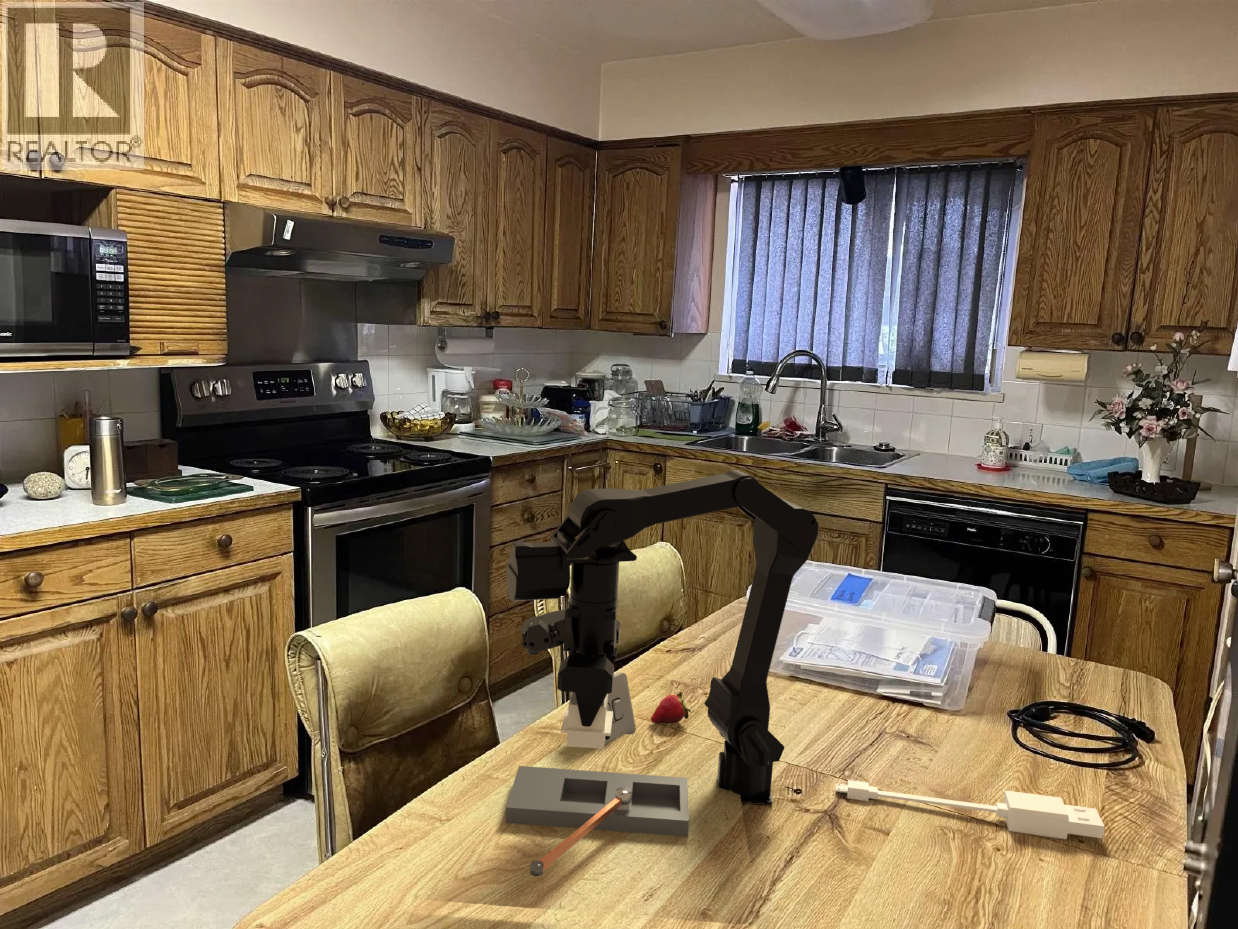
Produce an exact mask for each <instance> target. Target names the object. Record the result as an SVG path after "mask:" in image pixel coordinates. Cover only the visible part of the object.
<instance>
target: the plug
mask: <svg viewBox="0 0 1238 929" xmlns="http://www.w3.org/2000/svg"><path fill="white" fill-rule="evenodd" d="M568 701H569V702H568V707H566V708H565V710H564V714H563V719H562V723H561V726H560V733H563V734H566V747H569V748H570V747H571V748H572V747H573V748H583V749H586V748H587V749H597V750H598V749H599V750H600V749H601V750H604V749H605V745H604V743H605V736H610V735H611V727H612V719H613V711H607V703H608V694H607V695H606V697H605V699H604V701H603V703H602V705H601V707H600V709H599V711H598V713H597V715H596V717H595V719H594V721H593V723H592V725H591V726H590V727H586V726H582V724H581V719H580V714H579V709H578V705H577V700H576V696H575V692H570V697H569V700H568Z"/></svg>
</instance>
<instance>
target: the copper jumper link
mask: <svg viewBox="0 0 1238 929" xmlns="http://www.w3.org/2000/svg"><path fill="white" fill-rule="evenodd" d="M631 801H632V790H631V789H630V788H627V787H619V788H617V789H616V793H615V799H614V800H613V801H611V802H610V803H609V804H608V805H606V806H605V807H604V808H603V809H602V810H600V811H599V812H598V813H597V814H596V815H594V816H593V817H592V818H591V819H589V820H588V821H587V822H586V823H585V824H583V825H582V826H581V827H580V828H576V830H575V831H573V832H572V833H571V834H570V835H569V836H567V837H566V838H565V839H564V840H563V841H561V842H560V843H559V844H557V846H556V847H554V848H553V849H552V850H551V851H549V852H548V853H547V854H545V855H544V856H543V857H542V858H541V859H539V860H538V859H537V860H532V861H531V862H530V864H529V874H530V875H531V876H533V877H540V876H542V875H543V874H544V871H545V870H546V869H547V868H549V867H550V866H551V865H552V864H553V863H554V862H556V861H557V860H558V859H559V858H560V857H561V856H563V855H564V854H565V853H566V852H567V851H569V850H570V849H571V848H572V847H573V846H575V845H576V844H577V843H578V842H579V841H581V839H584V837H585V836H587V835H588V834H589V833H590V832H592V831H593V830H594V829H593V828H595V827H596V826H597V825H598V824H599V823H601V822H602V821H603V820H604V819H605V818H607V817H608V816H609V815H610V814H611V813H612V812H614V811H615V810H616V809H617V808H618V807H620V806H621V805H627V804H630V803H631Z"/></svg>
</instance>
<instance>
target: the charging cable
mask: <svg viewBox="0 0 1238 929" xmlns="http://www.w3.org/2000/svg"><path fill="white" fill-rule="evenodd" d="M835 792H838V793H844V794H846V796H847V799H849V800H850V799H851V800H856V801H862V802H863V801H864V802H869V799H871V800H878V799H879V797H880V798H885V799H893V800H899V801H900V800H902V801H908V802H915V803H923V804H931V805H936V806H943V807H950V808H951V807H952V808H958V809H967V810H974V811H980V812H981V811H982V812H989V813H996V816H997V817H998V818H1004V819H1005V822H1006V827H1007V830H1008V831H1009V832H1015V833H1019V834H1026V835H1032V836H1033V835H1034V836H1039V837H1043V838H1044V837H1047V838H1052V839H1058V840H1059V839H1060V840H1067V839H1068V835H1077V836H1082V837H1090V838H1098V839H1104V836H1105V835H1104V834H1105V825H1104V823H1103V820H1102V818H1101V816H1100V814H1099V812H1098V810H1097V808H1096V807H1095V808H1093V807H1085V806H1077V805H1072V804H1071V805H1070V804H1065V803H1064V801H1063V799H1062V797H1060V796H1058V797H1057V796H1049V795H1044V794H1043V795H1042V794H1036V793H1027V792H1020V791H1011V790H1004V792H1003V802H995V805H991V804H984V803H982V804H981V803H975V802H969V801H968V802H967V801H961V800H954V799H953V800H952V799H947V798H937V797H930V796H925V795H924V796H923V795H915V794H910V793H909V794H906V793H901V792H895V791H885V790H879V788H878V787H877V786H872V785H871V786H870V784H869V782H865V781H859V780H858V781H857V780H851V779H848V780H847V784H844V783H835Z"/></svg>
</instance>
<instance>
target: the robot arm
mask: <svg viewBox="0 0 1238 929" xmlns="http://www.w3.org/2000/svg"><path fill="white" fill-rule="evenodd" d="M734 508H735V509H736V508H738V509H739V510H740V511H741V513H743V514H745V515H746V516H747V517H748V518H750V519H751V520H752V521H754V523H753V534H752V544H753V550H754V557H755V563H756V565H755V566H756V567H755V570H754V574H753V577H752V581H751V587H750V591H749V595H748V597H747V598H748V599H747V602H746V607H745V610H744V613H743V614H744V615H743V619H742V622H741V626H740V630H739V635H738V639H737V642H736V647H735V651H734V654H733V658H732V663H731V666H730V669H729V670H728V671H727V672H726V673H725V675H724V676H723V677H722V678H718V677H715V676H713V677H712V678H711V680H710V686H709V693H708V696H707V698H706V700H705V702H704V703H703V705H705V706H706V709H707V717H708V719H709V721H710V722H711V724H712V725H713V726H714V727H715V728H716V730H717V731H718V733H719V735H720V737H722V738H723V739H724V743H723V751H720V752H719V753H718V765H717V776H716V779H717V787H718V789H722V790H724V791H730V792H732V793H733V794H736V795H739V797H740V803H741V804H742V803H743V804H756V805H772V804H773V796H772V791H771V790H772V779H773V769H774V768H773V767H774V763H776V762H780V759H781V757H782V754H783V752H784V749H785V746H784V744H783V743H782V742H781V741H780V740H779V739H778V738H777V737H776V736H775V735H774V734H772V733H771V732H770V731H769V725H770V715H771V702H770V698H769V690H768V677H769V673H770V669H771V664H772V661H773V656H774V653H775V648H776V647H777V646H776V645H777V641H778V638H779V634H780V630H781V626H782V622H783V617H784V614H785V610H786V607H787V606H786V605H787V602H788V597H789V594H790V590H791V586H792V583H793V578H794V576H795V574H797V572H798V571H799V570H800V569H801V568H802V567H803V566H804V565H805V564H806V562H807V561H808V560H809V559H810V556H811V553H812V551H813V549H814V546H815V544H816V542H817V540H818V536H819V532H820V524H819V521H817V520H818V519H817V518H816V517H815V515H814V514H813V513H812V512H811V511H810V510H808V509H806V508H803V507H801V506H799V505H797V504H795V503H793V502H791V501H788V500H787V499H783V498H780V497H779V496H778V495H777V494H775V493H773V492H772V491H770V490H769V489H768V488H766V487H765V486H764V485H762V484H761V483H760V482H759V481H758V479H756V478H755V477H754V476H752V475H751V474H747V473H745V472H743V471H741V470H738V469H731V470H728V471H726V472H725V473H724V472H723V473H721V474H720V473H719V474H716V475H715V474H714V475H711V476H707V477H706V476H704V477H701V478H695V479H691V480H687V481H681V482H676V483H671V484H667V485H661V486H660V485H659V486H656V487H650V488H645V489H625V488H623V489H622V488H614V487H613V488H587V489H585V490H583V491H579V493H577V494H576V495H575V497H574V498H573V499H572V501H571V503H570V505H569V509H568V514H567V516H566V517H564V519H563V521H562V522H561V523H560V524H559V526H558V527H557V528H556V530H555V531H554V533H553V534H552V535H550V541H551V542H550V541H549V542H528V541H527V542H526V541H513V543H512V544H511V552H510V553H509V556H508V557H509V558H508V564H506V567H505V568H506V586H507V587H506V588H507V593H508V598H509V600H510V601H511V602H522V601H524V602H525V601H541V600H543V601H545V600H556V599H557V600H558V599H560V598H561V596H562V595H563V596H564V595H566V594H567V590H568V589H569V588H570V591H569V592H570V594H569V599H568V602H567V607H565V609H560V610H555V611H551V612H548V613H544V614H543V613H542V614H539V615H536V616H533V617H530V618H527V619H526V620H524V622H523V624H522V626H521V628H520V630H519V631H520V634H521V637H522V641H521V646H522V647H523V648H525V649H526V651H527V652H526V653H527V655H528V656H535V655H539V653H540V652H543V651H544V652H545V651H546V650H551V649H554V648H558V647H560V646H562V645H563V646H562V647H563V648H562V651H563V652H568V655H567V657H565V658H564V659H563V660H562V661H561V662H560V663H559V664H560V665H559V668H558V671H557V680H556V682H557V683H556V687H557V688H556V689H557V690H558V691H560V692H564V693H565V692H568V693H571V692H575V696H576V700H577V705H578V709H579V714H580V719H581V724H582V726H586V727H590V726H591V725H592V723H593V721H594V719H595V717H596V715H597V713H598V711H599V709H600V707H601V705H602V703H603V701H604V699H605V697H606V695H607V694H609V693H612V688H613V678H614V675H615V665H614V663H615V661H616V659H617V655H618V648H617V647H616V644H619V643H620V634H621V622H620V621H619V620H618V619H617V614H618V613H617V612H618V607H619V606H618V604H619V598H618V593H619V576H620V574H619V573H620V562H636V560H637V559H638V556H637V555H636V553H634V552H633V551H632V550H631V549H630V548H629V547H628V545H627V543H626V541H627V540H629V539H631V538H634V537H636V536H637V535H638V534H639V533H641V532H643V531H644V530H645V529H648V528H650V527H652V526H654V525H657V524H663V523H667V522H674V521H676V520H677V521H679V520H682V519H688V518H692V517H697V516H701V515H707V514H711V513H714V512H715V513H716V512H720V511H721V512H722V511H725V510H729V509H734Z"/></svg>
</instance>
